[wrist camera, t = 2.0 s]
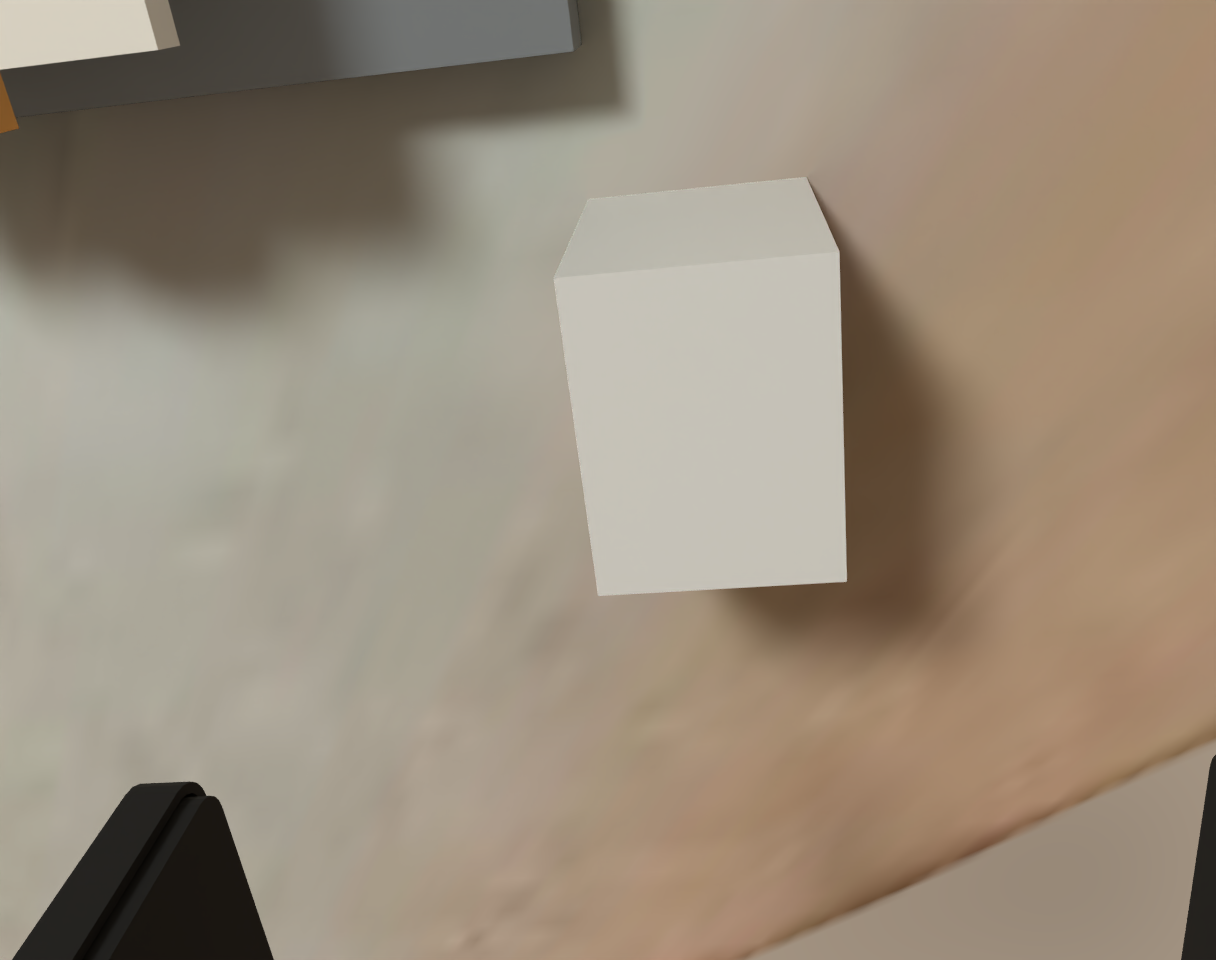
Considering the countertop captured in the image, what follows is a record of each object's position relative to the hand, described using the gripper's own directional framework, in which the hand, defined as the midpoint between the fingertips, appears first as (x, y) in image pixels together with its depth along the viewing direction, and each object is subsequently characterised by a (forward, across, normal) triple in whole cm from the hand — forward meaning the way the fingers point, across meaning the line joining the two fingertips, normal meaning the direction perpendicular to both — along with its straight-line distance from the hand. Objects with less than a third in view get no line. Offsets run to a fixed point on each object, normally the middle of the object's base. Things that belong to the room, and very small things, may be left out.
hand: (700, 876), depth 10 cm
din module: (+15, 0, -1) cm, 15 cm away
